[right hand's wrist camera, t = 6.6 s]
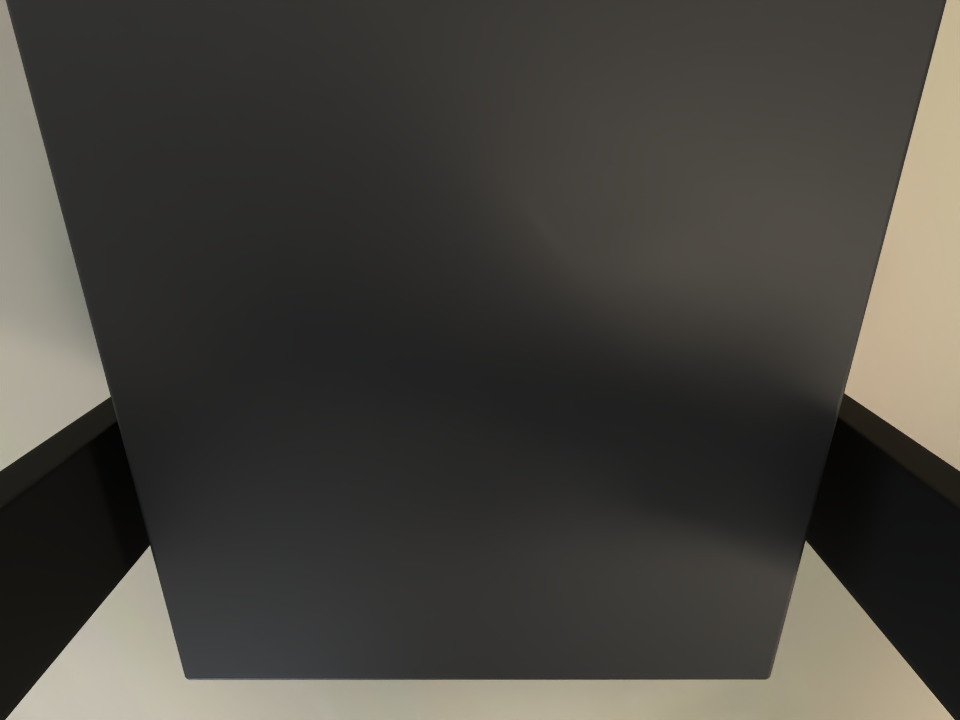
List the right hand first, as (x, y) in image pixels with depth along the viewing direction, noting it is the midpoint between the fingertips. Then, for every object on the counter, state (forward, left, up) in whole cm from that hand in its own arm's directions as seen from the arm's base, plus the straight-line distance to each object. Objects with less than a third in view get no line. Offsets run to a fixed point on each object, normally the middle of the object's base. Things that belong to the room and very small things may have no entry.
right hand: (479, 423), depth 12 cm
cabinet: (+3, -6, -5) cm, 8 cm away
